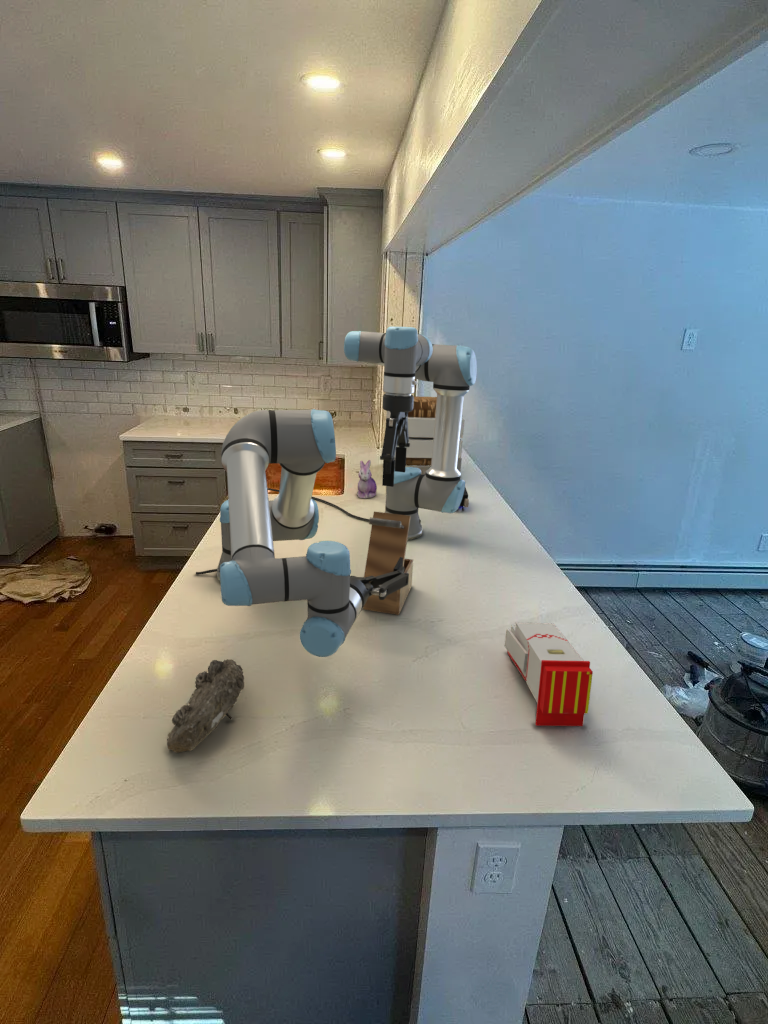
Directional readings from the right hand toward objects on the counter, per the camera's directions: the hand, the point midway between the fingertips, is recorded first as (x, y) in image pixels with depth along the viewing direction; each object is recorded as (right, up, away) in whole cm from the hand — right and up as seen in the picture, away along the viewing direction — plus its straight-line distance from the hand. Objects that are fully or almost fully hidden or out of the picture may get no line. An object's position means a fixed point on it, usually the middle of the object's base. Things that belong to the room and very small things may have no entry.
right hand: (394, 478), depth 144 cm
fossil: (-35, -48, -36) cm, 69 cm away
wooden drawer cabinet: (+15, +10, +131) cm, 132 cm away
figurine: (-10, -2, +95) cm, 95 cm away
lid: (-2, -18, +3) cm, 18 cm away
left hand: (-5, -19, -13) cm, 24 cm away
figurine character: (+28, -6, +86) cm, 91 cm away
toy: (+31, -45, -22) cm, 59 cm away
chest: (-1, -32, +12) cm, 34 cm away
